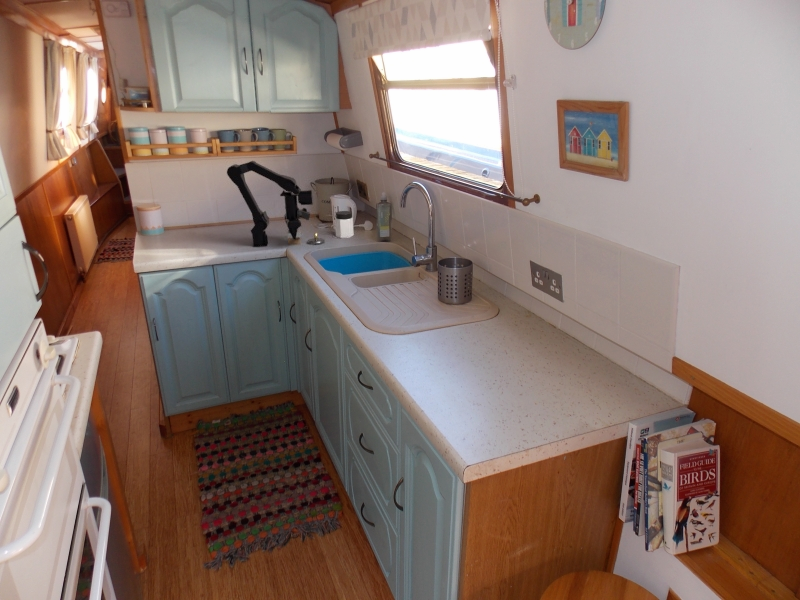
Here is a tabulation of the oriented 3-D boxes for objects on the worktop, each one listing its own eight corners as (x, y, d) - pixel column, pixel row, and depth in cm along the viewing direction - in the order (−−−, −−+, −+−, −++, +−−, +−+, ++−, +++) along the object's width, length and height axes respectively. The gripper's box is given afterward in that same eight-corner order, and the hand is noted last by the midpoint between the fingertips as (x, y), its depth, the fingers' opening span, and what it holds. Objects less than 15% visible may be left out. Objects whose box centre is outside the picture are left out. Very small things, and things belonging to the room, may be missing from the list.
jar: (356, 236, 285) (355, 212, 280) (343, 239, 280) (342, 215, 275) (346, 233, 291) (345, 209, 287) (333, 235, 286) (331, 212, 282)
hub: (309, 245, 270) (308, 235, 268) (307, 241, 277) (306, 231, 275) (325, 244, 272) (325, 234, 270) (323, 239, 279) (322, 230, 277)
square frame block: (287, 238, 267) (287, 233, 266) (286, 234, 273) (285, 230, 272) (301, 237, 269) (301, 232, 268) (299, 233, 274) (299, 228, 274)
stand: (288, 245, 270) (287, 233, 268) (288, 243, 272) (287, 232, 270) (300, 244, 272) (299, 233, 270) (300, 243, 274) (299, 231, 272)
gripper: (311, 208, 259) (313, 241, 265) (306, 200, 276) (308, 231, 281) (286, 209, 256) (289, 242, 262) (283, 201, 273) (285, 233, 279)
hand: (293, 237), depth 271 cm, fingers closed on square frame block, 7 cm apart
